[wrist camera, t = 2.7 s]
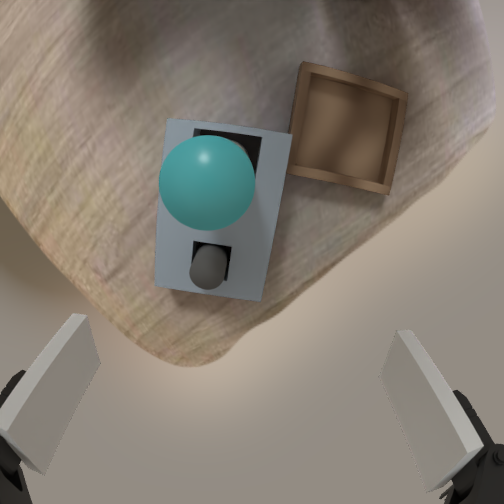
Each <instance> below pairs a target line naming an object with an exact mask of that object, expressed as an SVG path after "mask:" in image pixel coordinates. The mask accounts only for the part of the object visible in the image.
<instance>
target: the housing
mask: <svg viewBox="0 0 504 504" xmlns="http://www.w3.org/2000/svg"><path fill="white" fill-rule="evenodd" d="M201 129H206V130H215V131H223V132H231V133H238V134H245V135H252V136H258V137H261V140H260V146H259V152H258V158H257V164H256V170H255V191H254V196H253V199H252V201H251V204H250V206H249V207H248V209H247V210H246V212H245V213H244V214H243V215H242V216H241V217H240V218H239V219H238V220H237V221H236V222H234V223H233V224H231V225H229V226H227V227H225V228H222V229H218V230H212V231H203V230H197V229H193V228H190V227H188V226H185V225H183V224H182V223H180V222H179V221H177V220H176V219H175V218H174V217H173V216H172V215H171V214H170V213H169V211H168V210H167V209H166V207H165V205H164V203H163V201H162V198H161V195H160V191H159V198H158V212H157V229H156V251H155V286H158V287H164V288H170V289H176V290H182V291H188V292H195V293H201V294H208V295H215V296H221V297H228V298H235V299H243V300H250V301H257V302H261V299H262V294H263V289H264V284H265V279H266V274H267V269H268V264H269V259H270V254H271V249H272V243H273V238H274V233H275V228H276V223H277V217H278V212H279V207H280V202H281V196H282V191H283V186H284V180H285V175H286V169H287V164H288V158H289V153H290V147H291V141H292V136H293V135H292V134H287V133H282V132H276V131H270V130H264V129H258V128H252V127H245V126H238V125H231V124H223V123H214V122H205V121H195V120H184V119H171V118H167V124H166V131H165V139H164V147H163V156H162V165H163V162H164V160H165V159H166V157H167V156H168V154H169V153H170V152H171V151H172V150H173V149H174V148H175V147H176V146H177V145H179V144H180V143H181V142H183V141H185V140H187V139H190V138H192V137H196V136H200V131H201ZM162 165H161V167H162ZM198 242H205V243H211V244H218V245H225V246H232V250H231V257H230V264H229V265H226V270H225V276H224V280H223V282H222V283H221V285H220V286H218V287H217V288H215V289H211V290H205V289H201V288H199V287H197V286H196V285H195V284H194V283H193V282H192V281H191V279H190V275H189V270H190V267H191V264H192V262H193V260H194V257H195V255H196V253H197V248H198Z"/></svg>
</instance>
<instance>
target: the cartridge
mask: <svg viewBox="0 0 504 504" xmlns="http://www.w3.org/2000/svg"><path fill="white" fill-rule="evenodd" d="M159 191H160V195H161V198H162V201H163V203H164V205H165V207H166V209H167V210H168V211H169V213H170V214H171V215H172V216H173V217H174V218H175V219H176V220H177V221H179V222H180V223H182V224H183V225H185V226H188V227H190V228H193V229H197V230H203V231H212V230H218V229H222V228H225V227H227V226H229V225H231V224H233V223H234V222H236V221H237V220H238V219H239V218H240V217H241V216H242V215H243V214H244V213H245V212H246V210H247V209H248V207H249V206H250V204H251V201H252V199H253V196H254V191H255V174H254V169H253V166H252V163H251V161H250V159H249V155H248V152H247V150H246V149H245V148H244V146H243V145H242V144H240V143H239V142H237V141H235V140H231V139H226V138H223V137H220V136H213V135H204V136H196V137H192V138H190V139H187V140H185V141H183V142H181V143H180V144H179V145H177V146H176V147H175V148H174V149H173V150H172V151H171V152H170V153H169V154H168V156H167V157H166V159H165V160H164V162H163V165H162V167H161V171H160V175H159Z"/></svg>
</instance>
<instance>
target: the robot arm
mask: <svg viewBox="0 0 504 504" xmlns="http://www.w3.org/2000/svg"><path fill="white" fill-rule="evenodd" d="M100 364H101V363H100V360H99V357H98V353H97V350H96V346H95V343H94V339H93V336H92V332H91V328H90V325H89V321H88V317H87V315H82V314H76V313H73V314H72V315H71V316H70V317H69V318H68V320H67V321H66V322H65V323H64V324H63V326H62V327H61V328H60V329H59V331H58V332H57V333H56V334H55V336H54V337H53V338H52V339H51V340H50V342H49V343H48V344H47V345H46V347H45V348H44V349H43V351H42V352H41V353H40V354H39V356H38V357H37V358H36V360H35V361H34V362H33V363H32V365H31V366H30V367H29V369H28V370H27V371H24V370H21V371H20V372H18V373H17V374H16V375H14V376H13V377H12V378H11V380H10V381H9V382H8V384H7V385H6V387H5V388H4V389H3V390H2V392H1V395H0V504H32V501H31V498H30V495H29V492H28V489H27V485H26V482H25V478H24V475H23V471H22V469H21V467H20V465H19V464H20V462H21V460H22V461H23V462H24V463H25V465H27V467H28V468H30V469H32V470H34V471H36V472H38V473H40V474H42V475H45V474H46V471H47V469H48V467H49V464H50V462H51V460H52V458H53V456H54V453H55V451H56V449H57V447H58V445H59V443H60V440H61V439H62V436H63V434H64V432H65V430H66V428H67V426H68V424H69V422H70V420H71V418H72V416H73V414H74V412H75V410H76V408H77V406H78V404H79V403H80V401H81V399H82V396H83V395H84V393H85V391H86V389H87V387H88V385H89V384H90V382H91V380H92V378H93V376H94V374H95V373H96V371H97V369H98V367H99V366H100ZM379 378H380V381H381V383H382V385H383V387H384V389H385V392H386V394H387V396H388V399H389V401H390V403H391V405H392V408H393V410H394V412H395V414H396V417H397V419H398V422H399V424H400V427H401V429H402V431H403V433H404V436H405V439H406V441H407V444H408V446H409V449H410V451H411V454H412V456H413V459H414V461H415V464H416V467H417V469H418V472H419V474H420V477H421V480H422V482H423V485H424V488H425V491H426V493H427V492H430V491H433V490H436V489H439V488H441V487H443V486H444V485H445V484H447V482H449V481H450V480H452V482H453V485H452V486H451V487H450V488H449V489H447V490H446V491H445V492H444V493H443V494H441V496H440V498H439V499H442V498H443V497H444V496H446V495H447V494H448V495H447V497H446V499H445V503H444V504H504V445H503V444H495V443H494V442H493V441H492V439H491V437H490V435H489V434H488V432H487V430H486V428H485V427H484V425H483V424H482V422H481V420H480V419H479V417H478V416H477V414H476V412H475V410H474V409H472V406H471V404H470V402H469V401H468V399H467V398H466V397H465V396H464V395H463V394H462V393H461V392H459V391H458V390H455V391H452V390H451V389H450V387H449V385H448V384H447V382H446V381H445V379H444V378H443V376H442V375H441V373H440V372H439V370H438V369H437V367H436V366H435V364H434V362H433V361H432V359H431V358H430V357H429V355H428V354H427V352H426V351H425V349H424V348H423V346H422V345H421V343H420V342H419V341H418V339H417V338H416V336H415V335H414V333H413V332H412V330H398V331H396V333H395V336H394V339H393V342H392V345H391V347H390V350H389V353H388V356H387V358H386V361H385V363H384V365H383V368H382V371H381V373H380V375H379Z"/></svg>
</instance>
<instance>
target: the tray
mask: <svg viewBox="0 0 504 504" xmlns="http://www.w3.org/2000/svg"><path fill="white" fill-rule="evenodd" d="M407 99H408V93H406V92H404V91H401V90H399V89H396V88H393V87H390V86H388V85H385V84H382V83H379V82H376V81H373V80H370V79H367V78H364V77H361V76H358V75H354V74H351V73H348V72H344V71H341V70H337V69H333V68H329V67H326V66H322V65H317V64H313V63H309V62H304V61H303V62H302V63H301V65H300V66H299V71H298V77H297V83H296V89H295V95H294V101H293V107H292V113H291V118H290V124H289V130H288V134H292V135H293V136H292V141H291V147H290V153H289V158H288V164H287V169H286V174H292V175H297V176H302V177H308V178H313V179H318V180H323V181H328V182H332V183H337V184H342V185H346V186H351V187H355V188H359V189H364V190H368V191H372V192H376V193H380V194H384V195H388V196H389V194H390V189H391V185H392V181H393V176H394V172H395V167H396V162H397V158H398V153H399V147H400V142H401V137H402V131H403V125H404V119H405V113H406V106H407Z"/></svg>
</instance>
